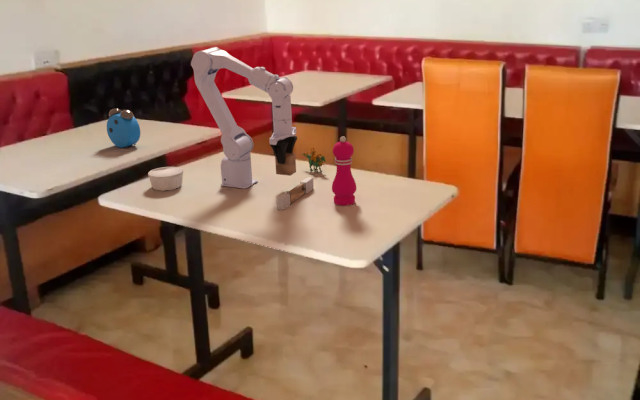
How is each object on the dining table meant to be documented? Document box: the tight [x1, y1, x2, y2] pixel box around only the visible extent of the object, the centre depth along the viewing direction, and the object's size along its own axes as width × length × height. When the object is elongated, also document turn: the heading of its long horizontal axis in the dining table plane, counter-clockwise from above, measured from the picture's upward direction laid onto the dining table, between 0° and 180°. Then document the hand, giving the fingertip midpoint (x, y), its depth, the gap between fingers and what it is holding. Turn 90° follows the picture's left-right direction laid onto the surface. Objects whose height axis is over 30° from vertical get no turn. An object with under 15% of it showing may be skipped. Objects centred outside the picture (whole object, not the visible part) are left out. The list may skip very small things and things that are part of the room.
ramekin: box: [147, 166, 184, 192], centre depth 218 cm, size 11×11×5 cm
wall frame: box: [276, 176, 314, 211], centre depth 203 cm, size 2×20×4 cm, turn 155°
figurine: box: [301, 146, 327, 173], centre depth 228 cm, size 3×12×8 cm, turn 42°
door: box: [288, 183, 306, 204], centre depth 203 cm, size 2×9×3 cm, turn 155°
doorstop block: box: [274, 153, 297, 176], centre depth 210 cm, size 5×4×6 cm
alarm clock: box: [106, 108, 141, 149], centre depth 265 cm, size 13×6×15 cm, turn 57°
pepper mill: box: [331, 136, 357, 206], centre depth 196 cm, size 7×7×20 cm
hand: (284, 161), depth 210 cm, fingers closed on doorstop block, 4 cm apart
